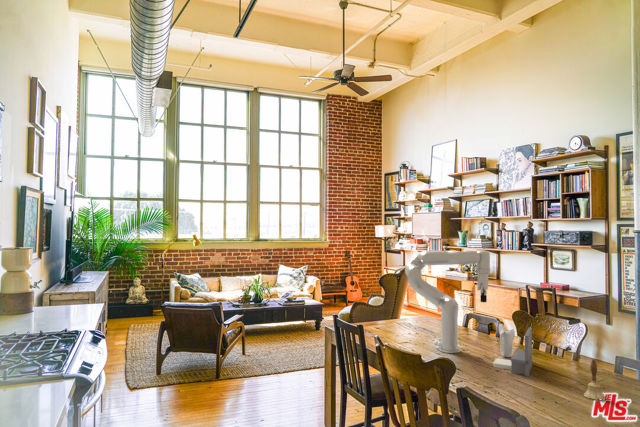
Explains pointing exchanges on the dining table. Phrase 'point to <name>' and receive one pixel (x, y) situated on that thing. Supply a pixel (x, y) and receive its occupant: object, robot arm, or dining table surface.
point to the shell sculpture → (506, 340)
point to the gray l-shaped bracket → (523, 356)
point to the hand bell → (594, 385)
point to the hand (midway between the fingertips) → (483, 301)
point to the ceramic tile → (502, 363)
